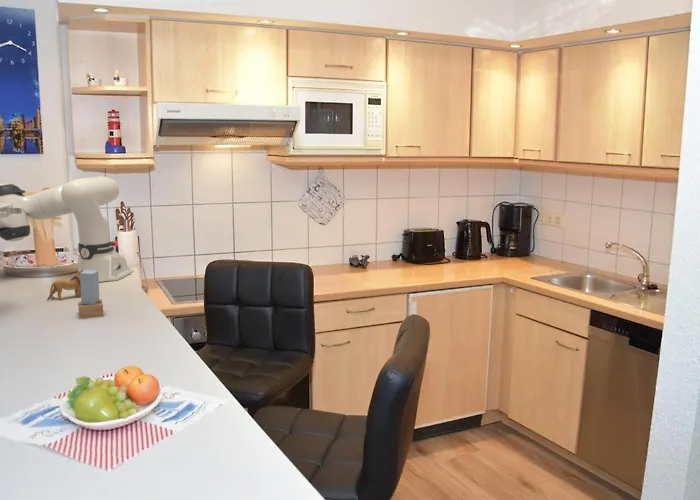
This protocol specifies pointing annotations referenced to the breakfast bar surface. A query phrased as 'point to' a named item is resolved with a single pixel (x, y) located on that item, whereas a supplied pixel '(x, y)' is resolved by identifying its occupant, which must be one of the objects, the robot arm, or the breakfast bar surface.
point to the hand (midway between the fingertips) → (14, 212)
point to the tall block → (89, 287)
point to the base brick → (90, 310)
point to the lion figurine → (66, 286)
